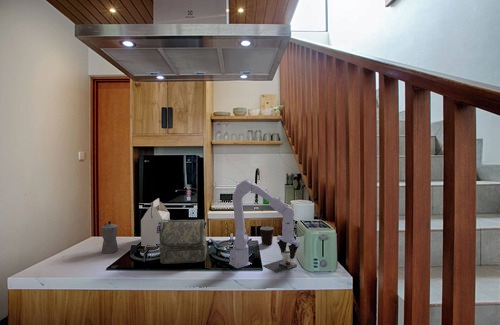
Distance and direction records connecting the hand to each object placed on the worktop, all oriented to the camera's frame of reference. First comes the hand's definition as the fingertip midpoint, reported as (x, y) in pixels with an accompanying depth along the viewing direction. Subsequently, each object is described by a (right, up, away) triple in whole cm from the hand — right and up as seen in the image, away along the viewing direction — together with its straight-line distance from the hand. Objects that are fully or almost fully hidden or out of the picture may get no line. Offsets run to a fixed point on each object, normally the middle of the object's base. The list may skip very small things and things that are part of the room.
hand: (287, 256), depth 143 cm
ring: (0, -1, 0) cm, 1 cm away
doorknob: (0, -5, 0) cm, 5 cm away
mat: (-4, -5, 0) cm, 7 cm away
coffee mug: (-8, -4, +38) cm, 39 cm away
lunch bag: (-56, -5, +11) cm, 58 cm away
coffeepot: (-103, -5, +24) cm, 106 cm away
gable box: (-81, -4, +41) cm, 90 cm away
